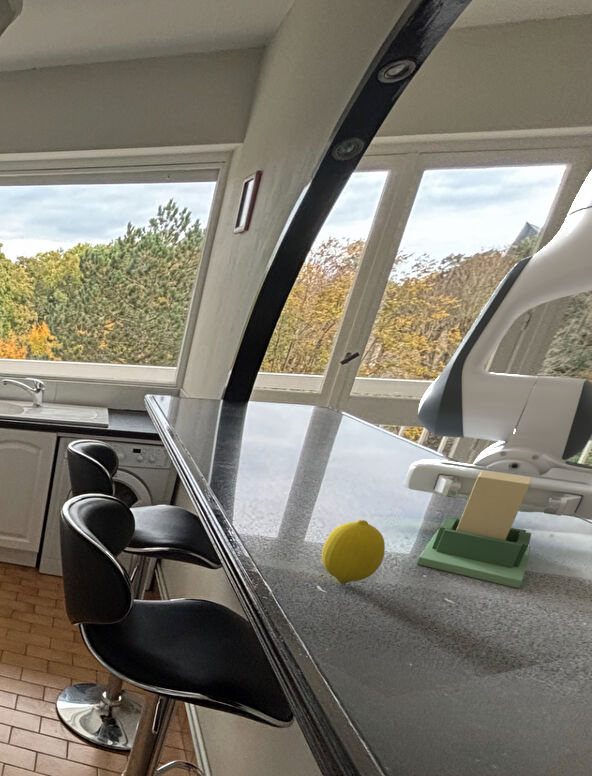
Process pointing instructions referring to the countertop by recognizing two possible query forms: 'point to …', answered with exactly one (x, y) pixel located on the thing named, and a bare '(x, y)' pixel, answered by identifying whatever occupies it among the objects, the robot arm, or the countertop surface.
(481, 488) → the cream pad
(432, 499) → the countertop surface
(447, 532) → the base holder
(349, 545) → the lemon
